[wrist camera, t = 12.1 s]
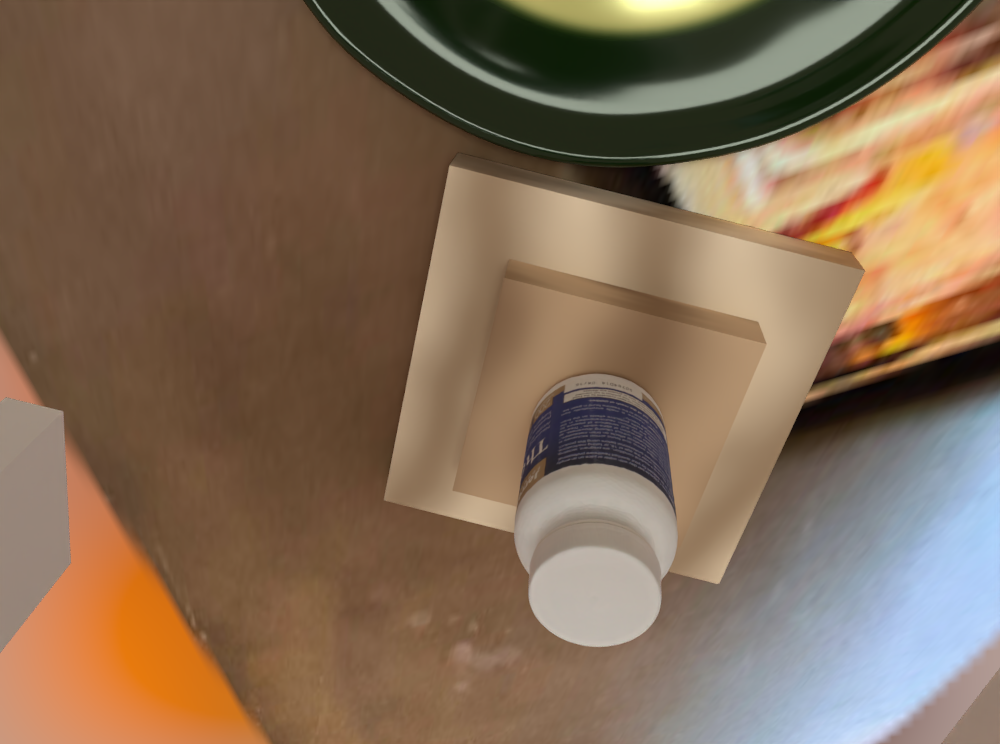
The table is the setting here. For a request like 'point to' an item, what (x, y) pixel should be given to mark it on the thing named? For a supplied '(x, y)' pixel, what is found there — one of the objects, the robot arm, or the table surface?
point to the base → (630, 260)
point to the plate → (636, 67)
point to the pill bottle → (596, 510)
